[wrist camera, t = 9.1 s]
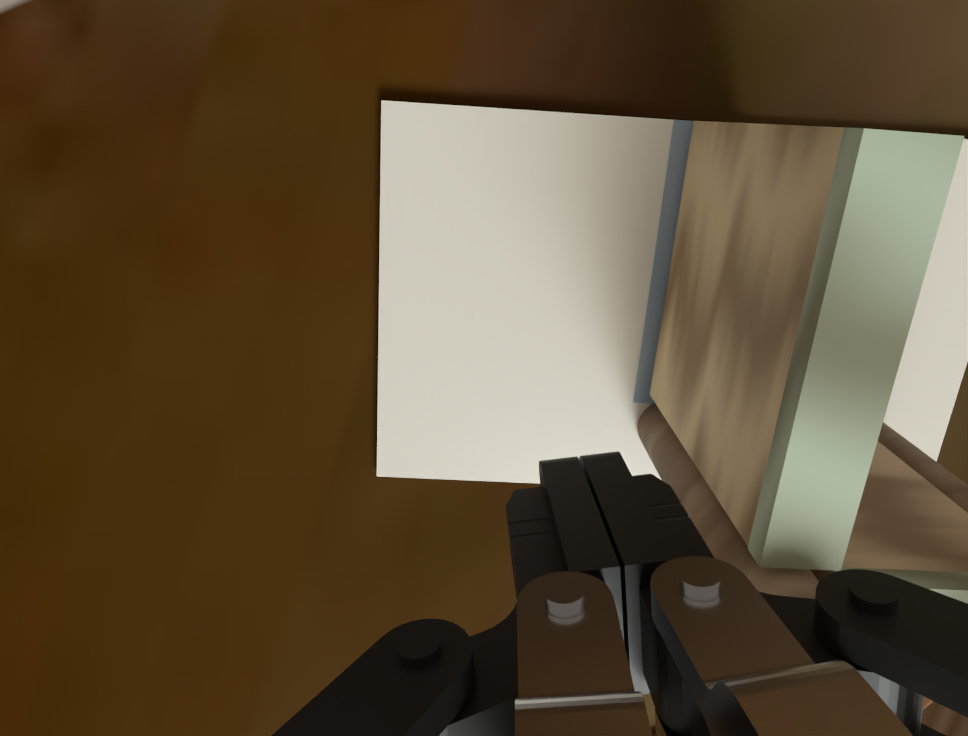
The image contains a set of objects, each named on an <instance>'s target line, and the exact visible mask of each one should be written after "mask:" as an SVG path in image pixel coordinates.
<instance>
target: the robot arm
mask: <svg viewBox="0 0 968 736" xmlns="http://www.w3.org/2000/svg"><path fill="white" fill-rule="evenodd" d="M539 476H540V487H536V488H528V489H519V490H515V491H514V492H513V494H512V496H511V498H510V499H509V501H508V503H507V504H506V513H507V522H508V531H509V539H510V548H511V557H512V566H513V575H514V582H515V589H516V596H517V603H516V605H515V608H514V609H513V611H512V612H511V613H510V614H509V615H508V616H507V618H506V619H504V620H503V621H502V622H500V623H499V624H498V625H496V626H494V627H492V628H491V629H488V630H486V631H484V632H481V633H479V634H476V635H473V636H471V637H469V635H468V634H467V633H466V632H465V630H464V629H462V628H461V627H460V626H458V625H456V624H454V623H452V622H449V621H446V620H440V619H421V620H416V621H411V622H408V623H405V624H402V625H400V626H398V627H396V628H394V629H392V630H391V631H389V632H388V633H387V634H385V635H384V636H383V637H382V638H380V639H379V640H378V641H377V642H376V643H375V644H374V645H373V646H371V647H370V648H369V649H368V650H367V651H366V652H365V653H364V654H363V655H361V656H360V657H359V658H358V659H357V660H356V661H355V662H354V663H352V664H351V665H350V666H349V667H348V668H347V669H346V670H345V671H343V672H342V673H341V674H340V675H339V676H338V677H337V678H336V679H335V680H333V681H332V682H331V683H330V684H329V685H328V686H327V687H326V688H324V689H323V690H322V691H321V692H320V693H319V694H318V695H317V696H316V697H314V698H313V699H312V700H311V701H310V702H309V703H308V704H307V705H305V706H304V707H303V708H302V709H301V710H300V711H299V712H298V713H296V714H295V715H294V716H293V717H292V718H291V719H290V720H289V721H288V722H286V723H285V724H284V725H283V726H282V727H281V728H280V729H279V730H277V731H276V732H275V733H274V734H273V735H272V736H653V735H652V730H651V726H650V722H649V718H648V714H647V709H646V705H645V701H644V698H643V695H642V694H648V693H650V694H651V697H652V699H653V702H654V705H655V722H656V736H946V735H944V734H942V733H940V732H938V731H936V730H934V729H932V728H930V727H928V726H926V725H924V724H922V723H921V721H922V713H923V705H924V697H926V698H928V699H930V700H932V701H935V702H937V703H939V704H941V705H943V706H945V707H947V708H949V709H951V710H953V711H956V712H958V713H960V714H962V715H964V716H966V717H968V604H967V603H965V602H962V601H959V600H957V599H954V598H951V597H948V596H946V595H943V594H940V593H938V592H935V591H932V590H930V589H927V588H924V587H922V586H919V585H916V584H914V583H911V582H908V581H906V580H903V579H900V578H897V577H895V576H892V575H889V574H886V573H881V572H877V571H871V570H863V569H848V570H841V571H837V572H833V573H831V574H829V575H827V576H825V577H824V578H822V579H821V580H820V581H819V583H818V584H817V587H816V594H815V599H810V598H800V597H789V596H779V595H772V594H767V593H763V592H759V591H758V590H757V589H756V588H755V587H754V585H753V584H752V583H751V582H750V580H749V579H748V578H747V576H746V575H745V574H744V573H743V572H742V571H740V570H739V569H738V568H736V567H735V566H733V565H731V564H729V563H727V562H724V561H722V560H718V559H715V558H714V556H713V555H712V553H711V551H710V550H709V548H708V546H707V545H706V543H705V541H704V540H703V538H702V536H701V535H700V533H699V532H698V530H697V528H696V527H695V525H694V523H693V522H692V520H691V518H689V517H688V513H687V512H686V510H685V509H684V507H683V505H681V503H680V500H679V499H678V497H677V495H676V494H675V492H674V490H673V489H672V487H671V486H670V485H668V484H667V483H665V482H664V481H662V480H660V479H659V478H657V477H656V476H654V475H653V474H644V475H636V476H632V475H631V473H630V471H629V469H628V467H627V465H626V463H625V461H624V459H623V457H622V456H621V454H620V452H619V451H617V452H608V453H600V454H592V455H583V456H580V457H579V458H578V457H577V456H576V457H567V458H559V459H551V460H542V461H539Z"/></svg>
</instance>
